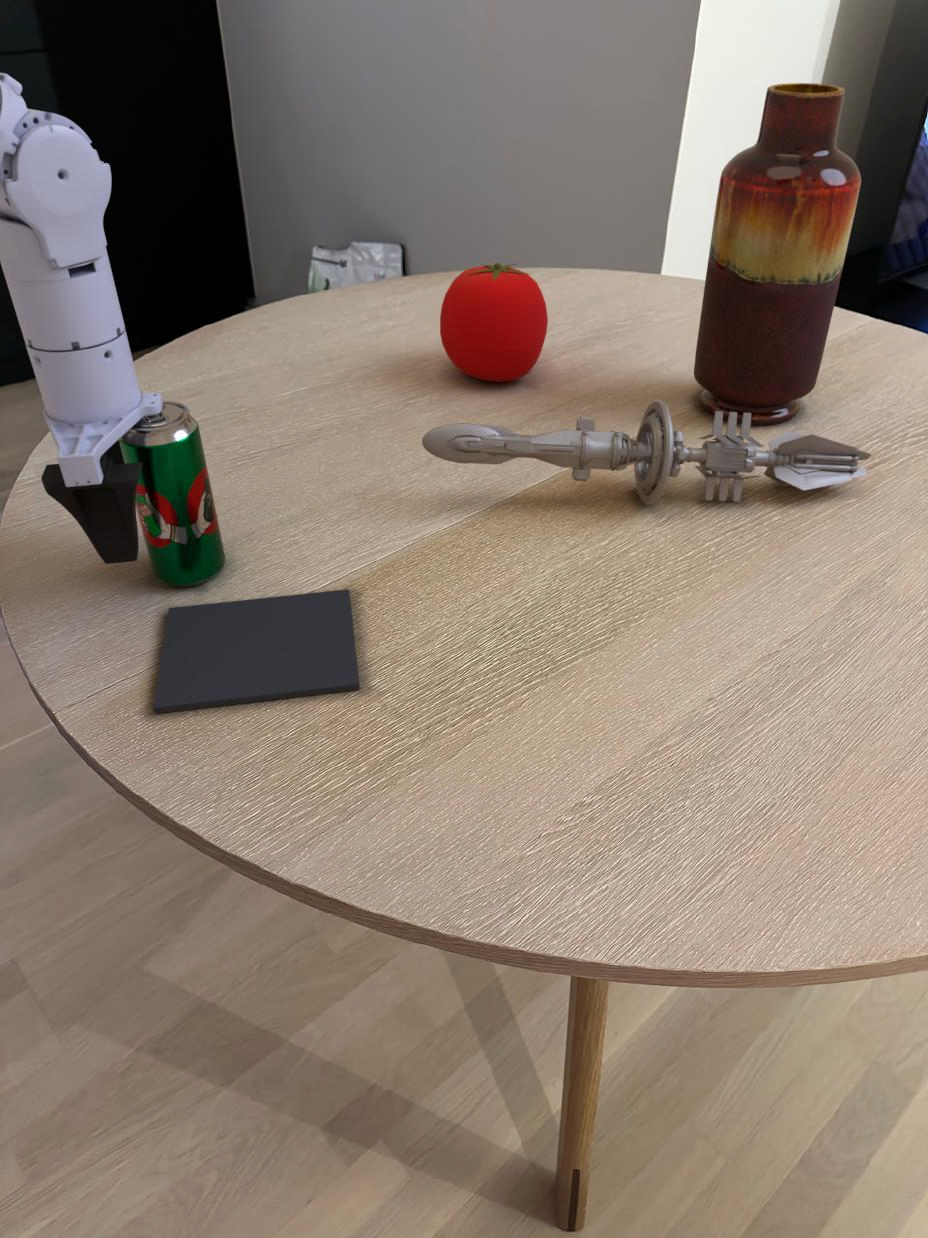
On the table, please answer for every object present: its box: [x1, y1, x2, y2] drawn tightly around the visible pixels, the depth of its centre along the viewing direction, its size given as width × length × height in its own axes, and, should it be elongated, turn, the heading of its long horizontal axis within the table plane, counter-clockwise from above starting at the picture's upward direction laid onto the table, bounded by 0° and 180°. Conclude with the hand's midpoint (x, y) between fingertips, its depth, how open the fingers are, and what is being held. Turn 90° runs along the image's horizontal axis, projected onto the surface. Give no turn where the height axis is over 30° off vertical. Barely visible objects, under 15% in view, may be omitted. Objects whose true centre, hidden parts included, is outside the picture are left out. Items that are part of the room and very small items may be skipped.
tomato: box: [439, 262, 549, 383], centre depth 91 cm, size 10×11×11 cm
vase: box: [693, 82, 862, 426], centre depth 79 cm, size 11×11×26 cm
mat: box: [153, 588, 361, 714], centre depth 59 cm, size 12×10×1 cm
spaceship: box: [421, 399, 872, 506], centre depth 71 cm, size 8×35×8 cm
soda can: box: [118, 400, 226, 588], centre depth 63 cm, size 5×5×12 cm
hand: (128, 529), depth 64 cm, fingers open, 7 cm apart
